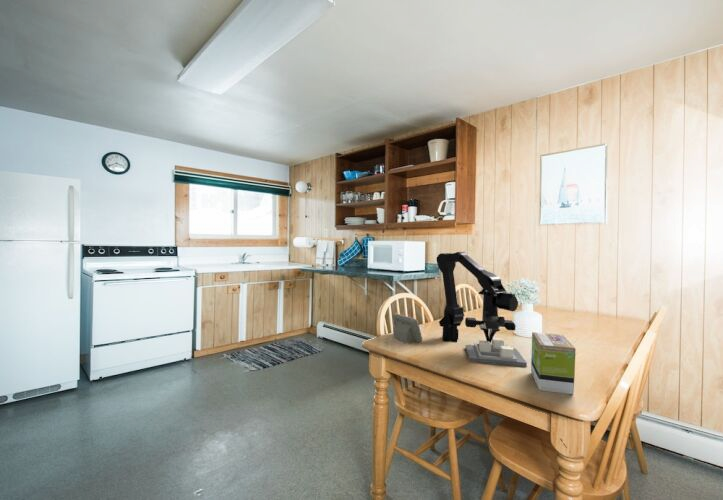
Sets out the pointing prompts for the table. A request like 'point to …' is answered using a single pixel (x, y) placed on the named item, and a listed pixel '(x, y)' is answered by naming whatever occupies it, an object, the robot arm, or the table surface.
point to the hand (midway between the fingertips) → (488, 344)
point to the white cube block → (484, 346)
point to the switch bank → (493, 356)
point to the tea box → (553, 363)
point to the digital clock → (406, 328)
